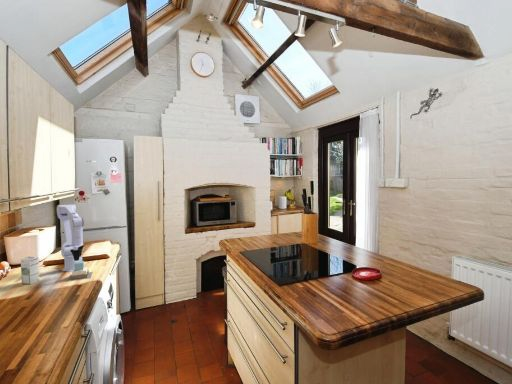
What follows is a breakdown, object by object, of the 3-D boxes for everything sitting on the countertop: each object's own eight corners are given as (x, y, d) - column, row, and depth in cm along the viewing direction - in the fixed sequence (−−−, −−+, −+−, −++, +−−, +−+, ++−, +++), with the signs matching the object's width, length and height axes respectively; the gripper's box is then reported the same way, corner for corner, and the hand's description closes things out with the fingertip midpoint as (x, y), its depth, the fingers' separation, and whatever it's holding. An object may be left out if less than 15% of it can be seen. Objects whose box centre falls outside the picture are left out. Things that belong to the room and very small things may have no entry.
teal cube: (75, 268, 159) (75, 261, 159) (84, 267, 161) (84, 260, 161) (74, 271, 155) (74, 263, 155) (83, 270, 157) (83, 262, 157)
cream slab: (74, 271, 160) (74, 268, 160) (87, 270, 163) (87, 266, 163) (72, 275, 154) (72, 272, 154) (86, 273, 157) (86, 270, 157)
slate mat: (70, 275, 161) (70, 274, 161) (92, 272, 167) (92, 271, 167) (66, 282, 150) (66, 281, 150) (90, 278, 156) (90, 278, 156)
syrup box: (39, 280, 152) (39, 256, 151) (30, 284, 146) (29, 259, 146) (31, 280, 153) (30, 255, 152) (21, 284, 147) (20, 258, 146)
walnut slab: (73, 275, 160) (73, 271, 160) (88, 273, 164) (88, 269, 164) (71, 279, 153) (71, 276, 153) (87, 277, 157) (87, 274, 157)
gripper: (71, 235, 165) (72, 256, 165) (66, 240, 152) (67, 263, 152) (84, 234, 168) (85, 255, 169) (81, 239, 155) (81, 261, 156)
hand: (77, 258), depth 161 cm, fingers open, 7 cm apart
